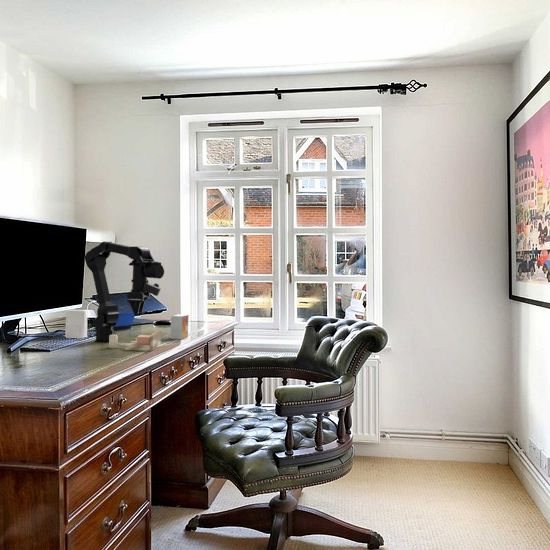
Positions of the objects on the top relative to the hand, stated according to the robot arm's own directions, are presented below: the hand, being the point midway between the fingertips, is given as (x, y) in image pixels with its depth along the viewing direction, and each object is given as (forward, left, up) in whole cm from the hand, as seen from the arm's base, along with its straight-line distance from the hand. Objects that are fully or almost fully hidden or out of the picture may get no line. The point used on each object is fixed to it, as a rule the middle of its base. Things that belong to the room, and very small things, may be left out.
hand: (138, 314), depth 210 cm
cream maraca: (-2, -6, -13) cm, 14 cm away
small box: (+14, +23, -13) cm, 30 cm away
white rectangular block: (-31, +18, -13) cm, 38 cm away
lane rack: (+3, -2, -13) cm, 13 cm away
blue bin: (-21, +45, -13) cm, 51 cm away
